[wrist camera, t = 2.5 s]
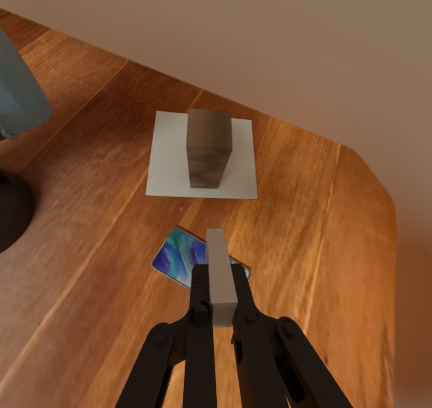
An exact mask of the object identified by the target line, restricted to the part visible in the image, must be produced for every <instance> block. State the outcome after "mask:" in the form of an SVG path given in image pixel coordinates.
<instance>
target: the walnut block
mask: <svg viewBox="0 0 432 408" xmlns="http://www.w3.org/2000/svg"><path fill="white" fill-rule="evenodd" d="M232 149H233V147H232V120H231V112H222V111H212V110H202V109H193V108H188V121H187V137H186V150H187V160H188V170H189V180H190V188H202V189H218V187H219V185H220V182H221V179H222V177H223V174H224V171H225V168H226V166H227V163H228V160H229V157H230V155H231V152H232Z"/></svg>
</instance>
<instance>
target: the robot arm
mask: <svg viewBox="0 0 432 408" xmlns="http://www.w3.org/2000/svg"><path fill="white" fill-rule="evenodd" d="M50 115H51V111H50V106H49V103H48V100H47V98H46V96H45V94H44V92H43V90H42V89H41V87H40V85H39V83H38V82H37V80H36V79H35V77H34V76H33V74H32V72H31V71H30V69H29V68H28V66H27V65H26V63H25V62H24V60H23V59H22V57H21V56H20V54H19V53H18V51H17V50H16V48H15V47H14V46H13V44H12V43H11V41H10V40H9V38H8V37H7V36H6V34H5V33H4V31H3V30H2V29H1V27H0V141H1V140H4V139H10V140H13V139H16V138H17V137H18V134H21V133H23V132H26V131H29V130H31V129H34V128H36V127H39V126H41V125H43V124H45V123H46V122H47V121H48V120H49V118H50ZM33 206H34V199H33V194H32V191H31V189H30V187H29V185H28V184H27V183H26V181H25V180H24V179H22V178H21V177H20V176H18V175H16V174H14V173H12V172H10V171H7V170H5V169H2V168H0V253H1V252H2V251H4V250H5V249H6V248H8V247H9V246H10V245H11V244H12V243H13V242H14V241H15V240H16V239H17V238H18V237H19V236H20V235H21V234H22V232H23V231H24V229H25V228H26V226H27V225H28V223H29V221H30V218H31V216H32V212H33ZM232 324H233V331H234V332H233V335H232V339H231V344H234V351H235V358H236V365H237V373H238V380H239V387H240V394H241V401H242V408H289V406H288V402H287V399H288V401H289V403H290V406H291V408H353V407H352V405H351V404H350V402H349V401H348V399H347V398H346V396H345V395H344V393H343V392H342V390H341V389H340V387H339V386H338V384H337V383H336V381H335V380H334V378H333V377H332V375H331V374H330V372H329V371H328V369H327V368H326V366H325V365H324V363H323V362H322V360H321V359H320V357H319V356H318V354H317V353H316V351H315V350H314V348H313V347H312V345H311V344H310V342H309V341H308V339H307V338H306V336H305V335H304V333H303V332H302V330H301V329H300V327H299V326H298V325H297V323H296V322H295V321H294V320H292V319H291V318H289V317H286V316H284V317H280V318H279V319H275V318H272V317H269V316H266V315H264V314H263V313H261V312H260V311H259V310H258V309H257V307H256V306H255V303H254V300H253V296H252V293H251V289H250V286H249V282H248V279H247V276H246V272H245V269H244V267H243V266H242V265H241V263H230V260H229V255H228V250H227V245H226V240H225V234H224V229H214V228H207V239H206V264H195V265H194V267H193V269H192V276H191V291H190V305H189V309H188V312H187V313H186V315H185V316H184V317H183V318H182V319H180V320H178V321H176V322H174V323H171V324H168V323H159V324H157V325H155V326H154V327H153V328H152V329H151V331H150V332H149V334H148V336H147V338H146V340H145V342H144V344H143V347H142V349H141V351H140V353H139V355H138V358H137V360H136V362H135V364H134V366H133V369H132V371H131V373H130V375H129V378H128V380H127V382H126V384H125V386H124V389H123V391H122V393H121V395H120V397H119V400H118V402H117V404H116V406H115V408H162V406H163V403H164V399H165V396H166V392H167V389H168V385H169V382H170V378H171V375H172V371H173V368H174V366H175V365H176V364H178V363H180V362H182V361H184V360H185V359H186V361H185V377H184V392H183V407H182V408H217V396H216V377H215V359H214V341H213V328H214V327H231V326H232ZM285 395H286V396H285ZM286 397H287V399H286Z"/></svg>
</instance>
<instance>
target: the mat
mask: <svg viewBox="0 0 432 408" xmlns="http://www.w3.org/2000/svg"><path fill="white" fill-rule="evenodd" d="M231 120H232V147H233V149H232V152H231V155H230V157H229V160H228V163H227V166H226V168H225V171H224V174H223V177H222V179H221V182H220V185H219V187H218V189H202V188H190V180H189V170H188V160H187V150H186V137H187V121H188V114H183V113H173V112H163V111H156V119H155V127H154V134H153V142H152V150H151V157H150V165H149V173H148V180H147V188H146V195H149V196H177V197H204V198H232V199H258V197H257V184H256V172H255V160H254V148H253V135H252V123H251V120H244V119H233V118H231Z"/></svg>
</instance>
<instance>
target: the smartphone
mask: <svg viewBox="0 0 432 408" xmlns="http://www.w3.org/2000/svg"><path fill="white" fill-rule="evenodd" d="M229 260H230V263H238V262H236V261H235V260H233V259H231V258H230V257H229ZM195 264H206V243H205V242H202V241H201V240H199V239H198V238H196V237H194V236H193V235H191V234H189V233H187V232H185V231H184V230H182V229H180V228H178V227H175V228H173V229H172V231H171V232H170V234H169V235H168V237H167V239H166V240H165V242H164V243H163V245H162V246H161V248H160V249H159V251H158V252H157V254H156V255H155V257H154V259H153V260H152V262H151V265H152V267H153V268H154V269H156V270H158V271H159V272H161V273H163V274H164V275H166V276H168V277H169V278H171V279H173V280H174V281H176V282H178V283H179V284H181V285H183V286H184V287H186V288H188V289H189V290H191V276H192V269H193V267H194V265H195ZM242 266H243V265H242ZM243 267H244V269H245V272H246V276H247V279H248V281H249V278H250V276H251V271H250V270H249V269H248V268H247V267H245V266H243Z"/></svg>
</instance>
